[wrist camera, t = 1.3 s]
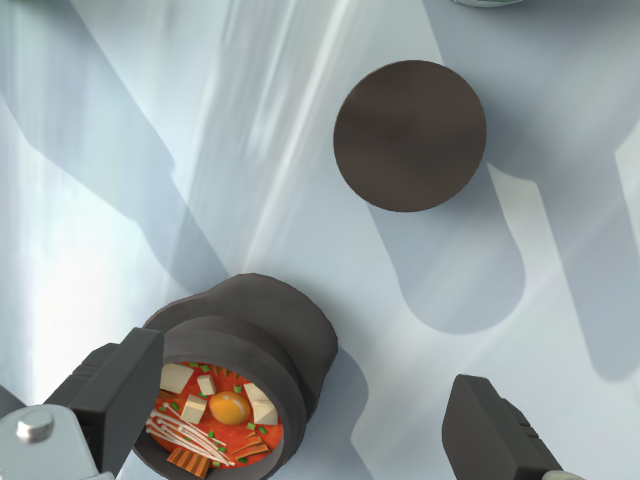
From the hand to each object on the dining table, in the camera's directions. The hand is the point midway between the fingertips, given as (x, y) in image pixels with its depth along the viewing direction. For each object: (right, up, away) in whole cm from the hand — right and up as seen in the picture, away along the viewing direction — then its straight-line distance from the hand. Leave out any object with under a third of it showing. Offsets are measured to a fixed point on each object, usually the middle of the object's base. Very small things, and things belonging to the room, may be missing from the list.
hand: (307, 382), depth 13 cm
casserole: (-9, -9, +34) cm, 36 cm away
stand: (+7, +12, +24) cm, 27 cm away
